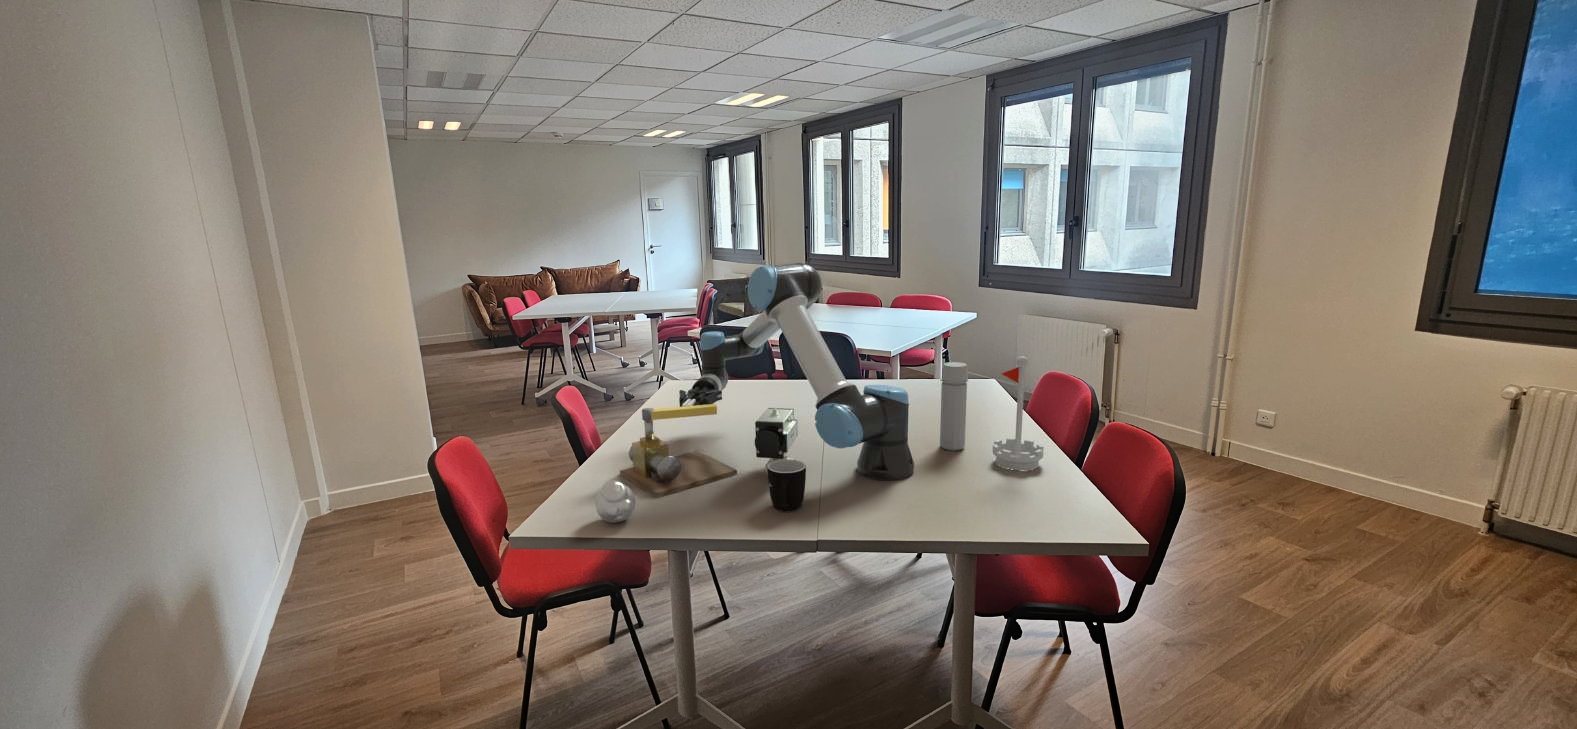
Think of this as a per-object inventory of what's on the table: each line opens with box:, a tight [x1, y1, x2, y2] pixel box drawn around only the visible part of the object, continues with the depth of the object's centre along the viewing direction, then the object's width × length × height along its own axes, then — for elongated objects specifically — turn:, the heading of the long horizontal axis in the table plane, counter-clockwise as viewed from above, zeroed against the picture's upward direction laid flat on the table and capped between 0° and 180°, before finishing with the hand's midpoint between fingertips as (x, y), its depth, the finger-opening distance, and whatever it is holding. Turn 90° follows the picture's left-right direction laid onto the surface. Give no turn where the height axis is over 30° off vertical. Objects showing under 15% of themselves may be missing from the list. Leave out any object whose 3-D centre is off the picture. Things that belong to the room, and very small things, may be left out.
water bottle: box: [939, 361, 969, 452], centre depth 193 cm, size 9×8×25 cm
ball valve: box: [754, 407, 799, 476], centre depth 176 cm, size 18×8×18 cm, turn 168°
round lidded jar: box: [594, 480, 636, 524], centre depth 149 cm, size 9×10×10 cm
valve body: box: [628, 420, 681, 483], centre depth 174 cm, size 7×17×14 cm, turn 38°
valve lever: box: [641, 403, 718, 422], centre depth 176 cm, size 20×3×3 cm, turn 104°
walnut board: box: [619, 450, 738, 499], centre depth 178 cm, size 24×21×1 cm
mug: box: [767, 459, 807, 512], centre depth 154 cm, size 12×9×10 cm
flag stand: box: [992, 355, 1044, 470], centre depth 178 cm, size 13×13×30 cm
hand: (685, 410), depth 178 cm, fingers closed
